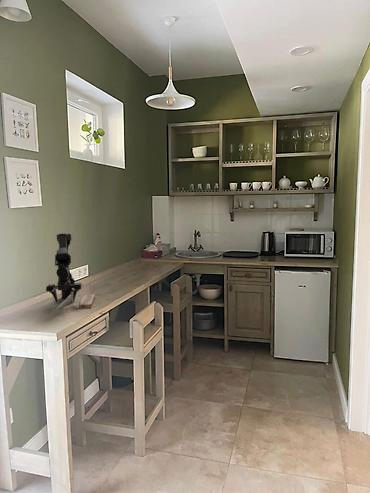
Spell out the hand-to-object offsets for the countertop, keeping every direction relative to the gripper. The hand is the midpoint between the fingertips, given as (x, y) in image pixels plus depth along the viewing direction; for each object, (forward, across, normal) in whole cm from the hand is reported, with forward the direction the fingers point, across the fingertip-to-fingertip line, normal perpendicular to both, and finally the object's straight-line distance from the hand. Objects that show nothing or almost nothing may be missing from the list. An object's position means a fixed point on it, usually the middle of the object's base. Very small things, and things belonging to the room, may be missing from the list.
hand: (65, 302), depth 215 cm
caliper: (+2, 0, 0) cm, 2 cm away
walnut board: (+2, +12, +3) cm, 12 cm away
